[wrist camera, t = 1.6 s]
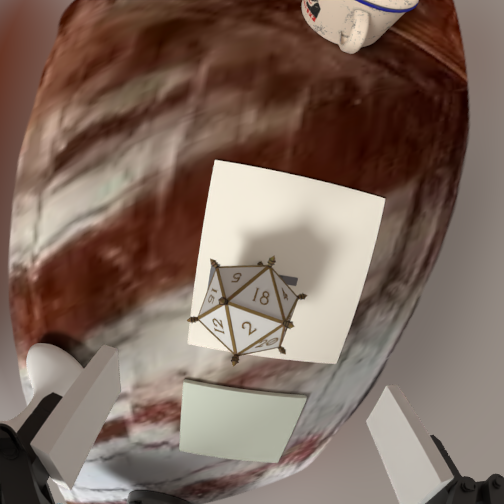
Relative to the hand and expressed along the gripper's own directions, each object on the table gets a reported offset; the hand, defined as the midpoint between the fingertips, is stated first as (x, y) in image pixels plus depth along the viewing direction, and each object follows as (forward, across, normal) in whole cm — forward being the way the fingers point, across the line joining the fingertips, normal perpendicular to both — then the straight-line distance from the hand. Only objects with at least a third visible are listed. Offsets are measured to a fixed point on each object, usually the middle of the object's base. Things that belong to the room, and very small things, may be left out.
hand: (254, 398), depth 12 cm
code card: (+15, -3, -2) cm, 15 cm away
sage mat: (+15, -2, +20) cm, 25 cm away
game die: (+15, 0, 0) cm, 15 cm away
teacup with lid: (+16, -4, -28) cm, 32 cm away
